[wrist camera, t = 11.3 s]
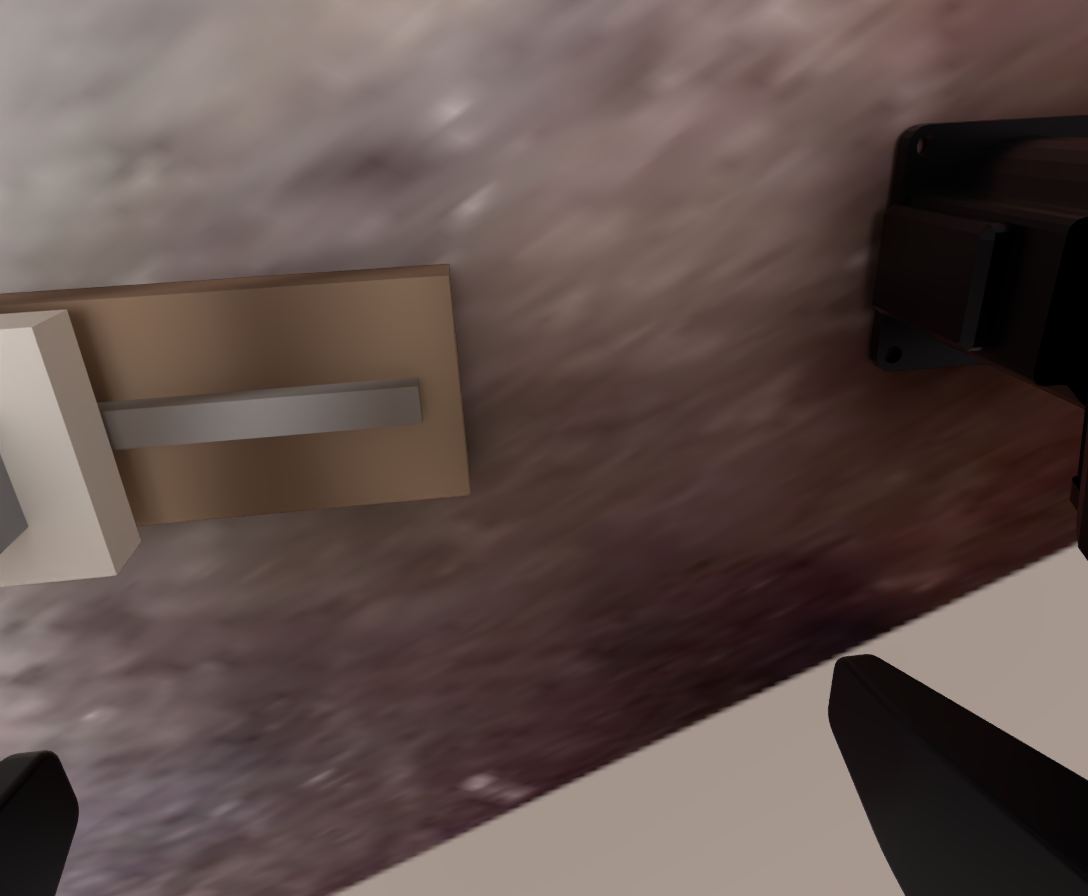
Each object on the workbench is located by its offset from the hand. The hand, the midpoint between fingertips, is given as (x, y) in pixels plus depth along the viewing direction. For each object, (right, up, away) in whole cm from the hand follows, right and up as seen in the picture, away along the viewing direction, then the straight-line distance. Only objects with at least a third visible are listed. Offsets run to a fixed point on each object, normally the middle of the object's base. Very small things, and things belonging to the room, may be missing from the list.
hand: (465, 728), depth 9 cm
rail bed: (-12, +4, +11) cm, 17 cm away
